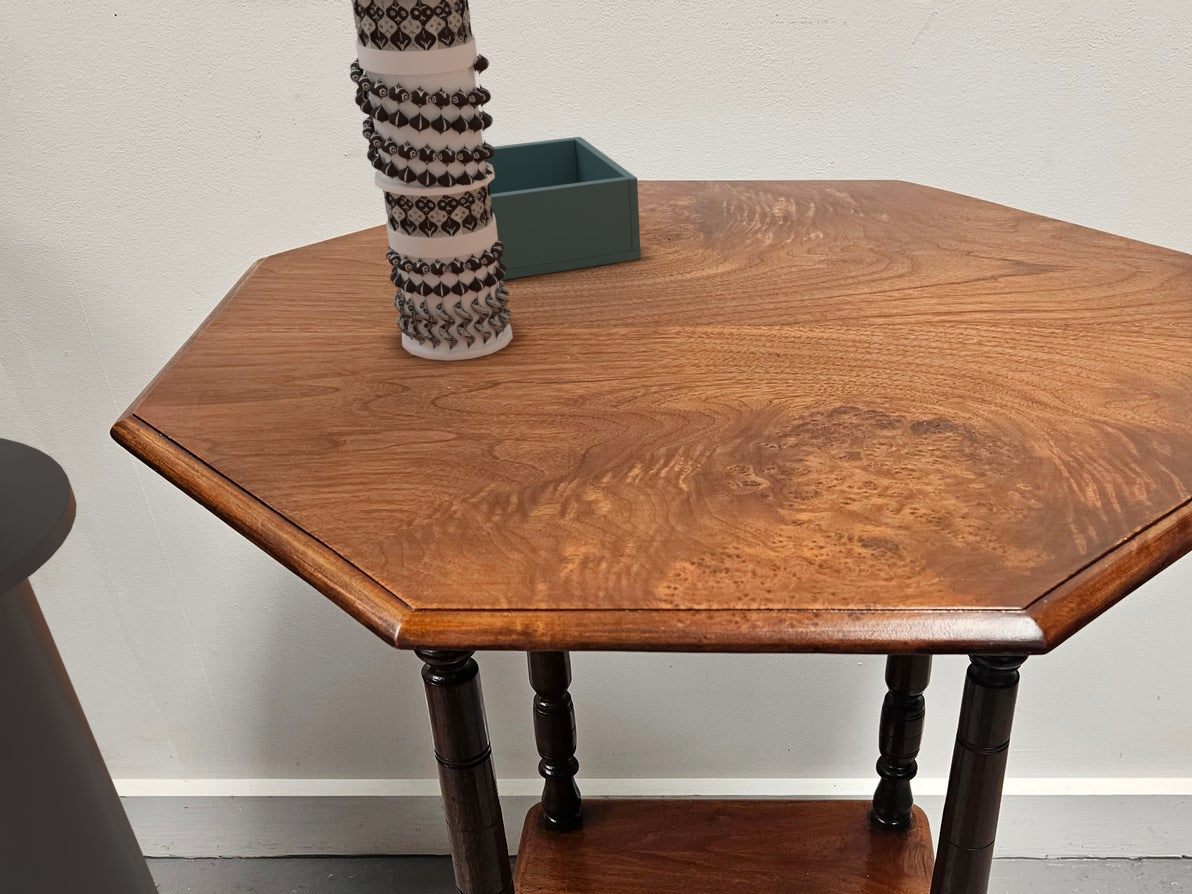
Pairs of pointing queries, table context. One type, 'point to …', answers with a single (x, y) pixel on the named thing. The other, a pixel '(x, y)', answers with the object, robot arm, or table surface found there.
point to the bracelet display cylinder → (433, 173)
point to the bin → (562, 207)
